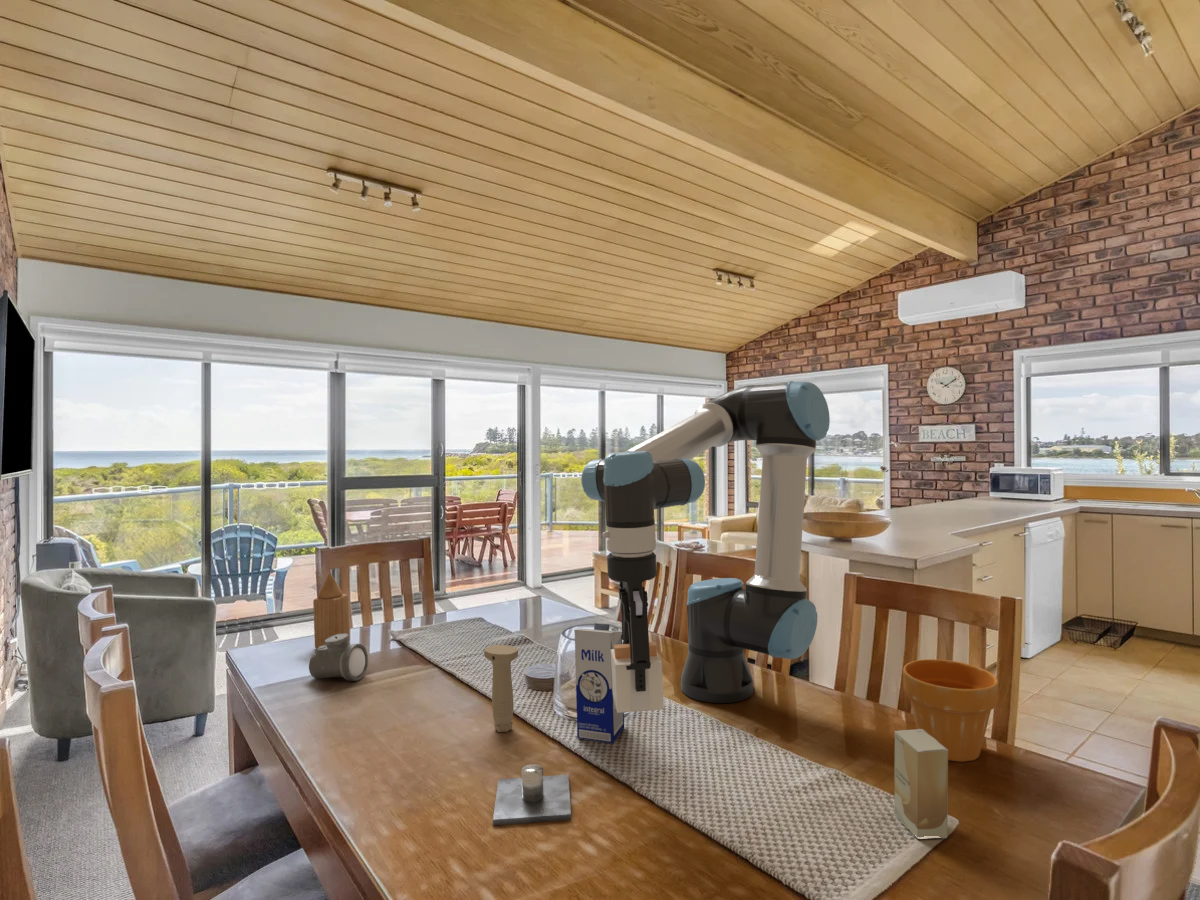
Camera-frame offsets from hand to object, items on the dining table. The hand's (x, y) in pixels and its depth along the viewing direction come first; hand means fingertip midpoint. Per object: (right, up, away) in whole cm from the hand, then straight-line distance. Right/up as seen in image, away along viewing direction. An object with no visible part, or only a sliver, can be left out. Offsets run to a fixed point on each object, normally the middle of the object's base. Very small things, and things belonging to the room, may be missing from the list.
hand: (636, 699), depth 102 cm
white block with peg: (0, 0, 0) cm, 0 cm away
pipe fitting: (-66, -14, +50) cm, 84 cm away
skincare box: (+38, -13, -12) cm, 42 cm away
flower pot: (+53, -12, +9) cm, 56 cm away
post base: (-16, -14, -3) cm, 21 cm away
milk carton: (-5, -13, +19) cm, 24 cm away
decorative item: (-77, -14, +74) cm, 108 cm away
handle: (-24, -14, +21) cm, 35 cm away
